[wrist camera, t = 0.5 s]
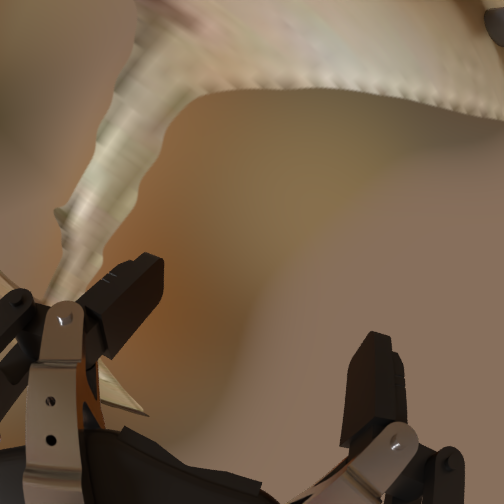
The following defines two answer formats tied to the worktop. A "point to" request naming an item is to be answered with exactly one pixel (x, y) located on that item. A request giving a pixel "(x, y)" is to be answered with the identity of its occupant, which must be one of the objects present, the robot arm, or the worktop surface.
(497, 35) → the canister
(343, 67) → the worktop surface
